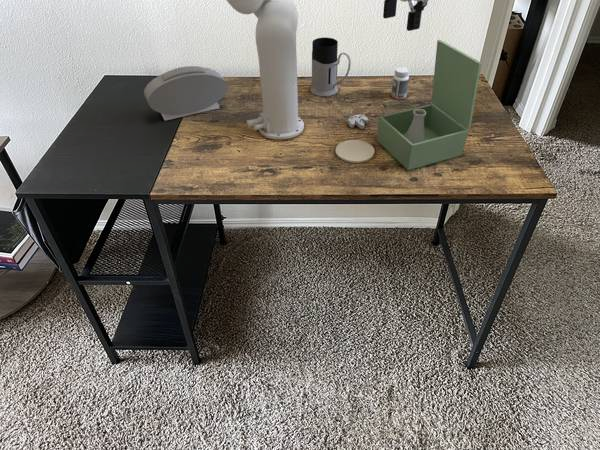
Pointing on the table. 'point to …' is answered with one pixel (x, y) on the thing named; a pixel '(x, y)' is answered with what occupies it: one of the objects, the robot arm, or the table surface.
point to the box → (439, 145)
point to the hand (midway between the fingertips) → (400, 23)
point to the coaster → (355, 151)
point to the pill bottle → (400, 83)
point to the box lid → (455, 83)
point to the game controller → (357, 121)
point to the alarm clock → (185, 91)
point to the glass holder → (325, 66)
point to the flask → (417, 127)
